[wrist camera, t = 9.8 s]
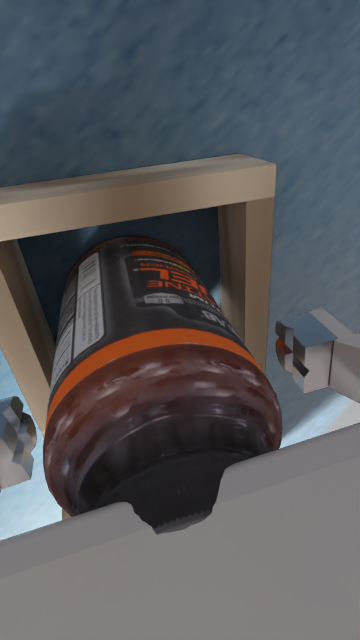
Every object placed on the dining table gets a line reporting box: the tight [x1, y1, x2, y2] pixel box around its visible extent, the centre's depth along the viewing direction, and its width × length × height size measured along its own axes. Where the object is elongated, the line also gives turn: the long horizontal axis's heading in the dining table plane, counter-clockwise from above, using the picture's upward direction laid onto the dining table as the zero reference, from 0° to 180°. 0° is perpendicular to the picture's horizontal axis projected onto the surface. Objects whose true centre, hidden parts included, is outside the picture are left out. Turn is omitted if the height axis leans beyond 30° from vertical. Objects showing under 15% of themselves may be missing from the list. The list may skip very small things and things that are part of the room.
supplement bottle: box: [43, 236, 282, 535], centre depth 11 cm, size 6×6×11 cm
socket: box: [0, 154, 277, 438], centre depth 14 cm, size 10×10×3 cm
